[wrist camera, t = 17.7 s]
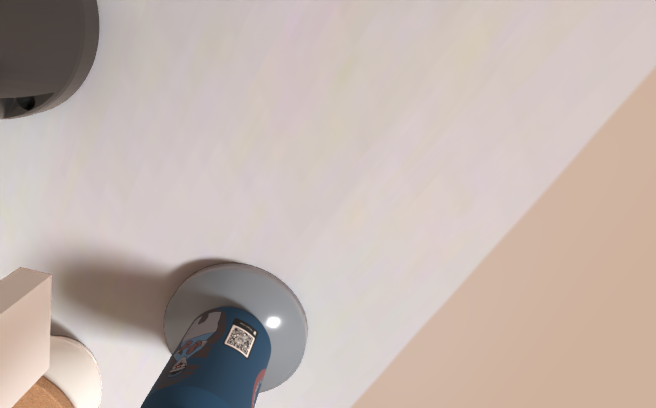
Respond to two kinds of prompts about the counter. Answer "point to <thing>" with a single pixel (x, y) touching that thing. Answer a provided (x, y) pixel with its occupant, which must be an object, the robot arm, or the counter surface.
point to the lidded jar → (66, 379)
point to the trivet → (251, 295)
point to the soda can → (215, 363)
